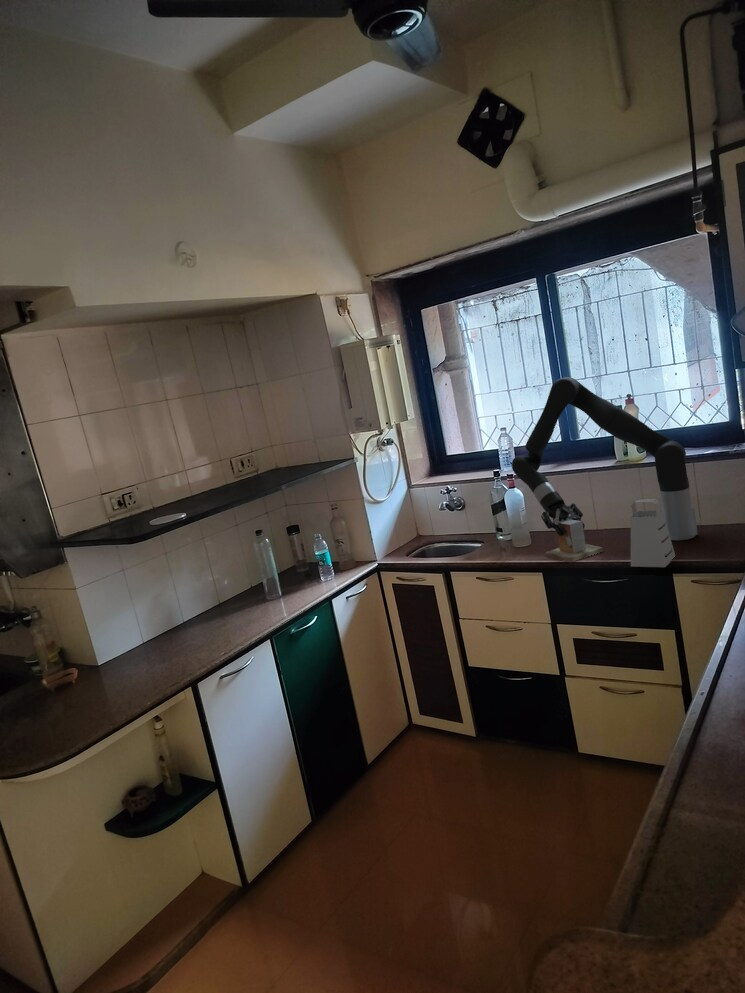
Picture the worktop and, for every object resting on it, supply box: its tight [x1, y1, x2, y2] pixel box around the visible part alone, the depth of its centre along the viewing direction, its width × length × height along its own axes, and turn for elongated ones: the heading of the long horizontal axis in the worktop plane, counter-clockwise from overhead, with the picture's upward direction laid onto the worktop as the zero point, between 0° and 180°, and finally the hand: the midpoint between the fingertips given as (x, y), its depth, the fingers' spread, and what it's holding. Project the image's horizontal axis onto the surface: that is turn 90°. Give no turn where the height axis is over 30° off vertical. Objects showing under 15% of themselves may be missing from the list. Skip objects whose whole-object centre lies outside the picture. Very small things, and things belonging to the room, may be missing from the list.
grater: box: [630, 498, 676, 568], centre depth 209 cm, size 10×10×20 cm
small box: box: [556, 519, 586, 553], centre depth 234 cm, size 8×6×10 cm
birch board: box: [545, 543, 604, 563], centre depth 235 cm, size 14×14×2 cm
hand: (573, 531), depth 232 cm, fingers open, 8 cm apart
